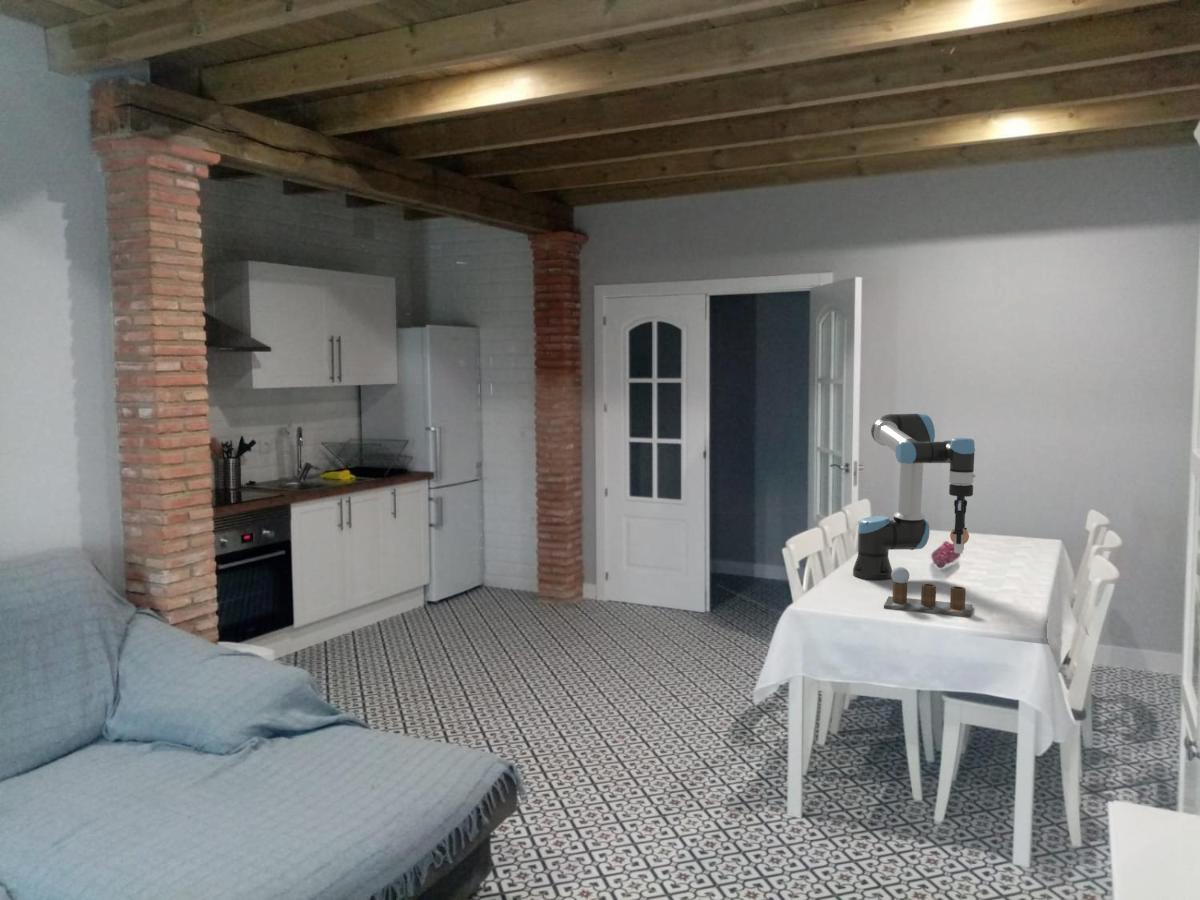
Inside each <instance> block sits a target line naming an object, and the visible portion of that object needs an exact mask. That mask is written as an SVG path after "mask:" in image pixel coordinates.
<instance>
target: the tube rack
mask: <svg viewBox="0 0 1200 900" xmlns="http://www.w3.org/2000/svg"><path fill="white" fill-rule="evenodd" d="M966 589H967V588H965V587H963V586H959V585H958V586H957V585H954V586H951V587H950V597H949V598H950V599H949V601H941V600H940V601H939V600H937V599H936V598H937V585H935V584H933V583H923V584H921V589H920V592H921V593H920V594H921V595H920V599H919V598H910V597H908V582H906V583H904V584H898V583H896V582H894V581H892V596H890V595H889V596H888V597H887V598H886V601H885V602H884V604H883V609H890V610H899V611H907V612H918V613H927V614H937V615H944V616H945V615H946V616H947V615H948V616H955V617H964V618H972V613H973V612H972V611H973V604H970V603H966V592H967V591H966Z"/></svg>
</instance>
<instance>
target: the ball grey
mask: <svg viewBox="0 0 1200 900" xmlns="http://www.w3.org/2000/svg"><path fill="white" fill-rule="evenodd" d="M891 576H892V578H891V579H892V582H896V583H898V584H904V583H908V581H909V580H910V572H909V571H908V569H907V568H905V567H903V566H896V567H895V568H894V569H892V574H891Z"/></svg>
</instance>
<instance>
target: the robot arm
mask: <svg viewBox="0 0 1200 900" xmlns="http://www.w3.org/2000/svg"><path fill="white" fill-rule="evenodd" d="M870 432H871V433H870V434H871V437H872V439H873V441H875V442H876V443H877V444H878V445H881V446H884V447H885V446H886V447H887V448H889V449H890V450H892V451H893V452H895V458H896V462H898V463H900V464H899V479H898V482H899V483H898V488H899V489H898V499H897V501H898V503H897V504H898V505H897V511H896V512H895V513H893V519H892V520H891V518H889V517H888V516H885V515H875V516H869V517H863V518H862V519H861V520H860V521H858V529H857V534H858V537H857V540H858V542H857V556H856V559H855V563H854V565H853V569H852V575H853V576H854V577H856V578H860V579H865V580H875V581H878V580H888V579H892V576H891V574H892V571H893V568H892V565H891V562H890V559H889V551H890V550H891V551H892V550H894V551H895V550H896V551H897V550H898V551H899V550H900V551H901V550H910V551H914V550H922V549H923V548H925V546H926V545H928V544H927V543H928V542H929V539H930V534H931V533H930V532H931V531H930V524H929V521H927V520H926V519H925V515H924V514H922V496H923V476H924V475H923V474H924V464H949V476H948V477H949V483H950V484H949V485H948V486H949V487H948V489H949V490H948V492H949V493H948V494H949V495H950V496H953V497H956V499H954V502H953V506H954V529H955V531H954V532H953V534H955V539H954V543H953V544H954V546H953V553H954V554H961V555H962V554H963V552H964V550H965V544H963V528H964V529H966V530H967V529H968V528H967V527H966V519H965V518H966V512H967V505H968V500H967V499H966V497H967V498H968V497H972V496H973V495H974V485H973V483H974V478H976V474H974V471H975V453H976V449H975V440H974V439H972V438H971V437H970V438H969V437H968V438H967V437H954V438H951V440H941V441H935V438H936V430H935V425H934V423H933V420H932V417H930V416H929V415H928V414H925V413H897V414H896V413H888V414H885V415H882V416H880V417H878V418H877V419H876V420H875V421H874V422H873V424H872V426H871V429H870ZM967 531H968V530H967Z"/></svg>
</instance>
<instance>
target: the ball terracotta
mask: <svg viewBox="0 0 1200 900" xmlns="http://www.w3.org/2000/svg"><path fill="white" fill-rule="evenodd" d="M964 528H965V527H964ZM964 528H963V544H964V545H965V544H967V542H969V539H970V534H969V531H968V530H966V529H964ZM954 531H955V528H953V529H952V530H951V531H950V533H949V537H950V541H951V542H952V543H953V544H954V539H955V534H953V532H954Z"/></svg>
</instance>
